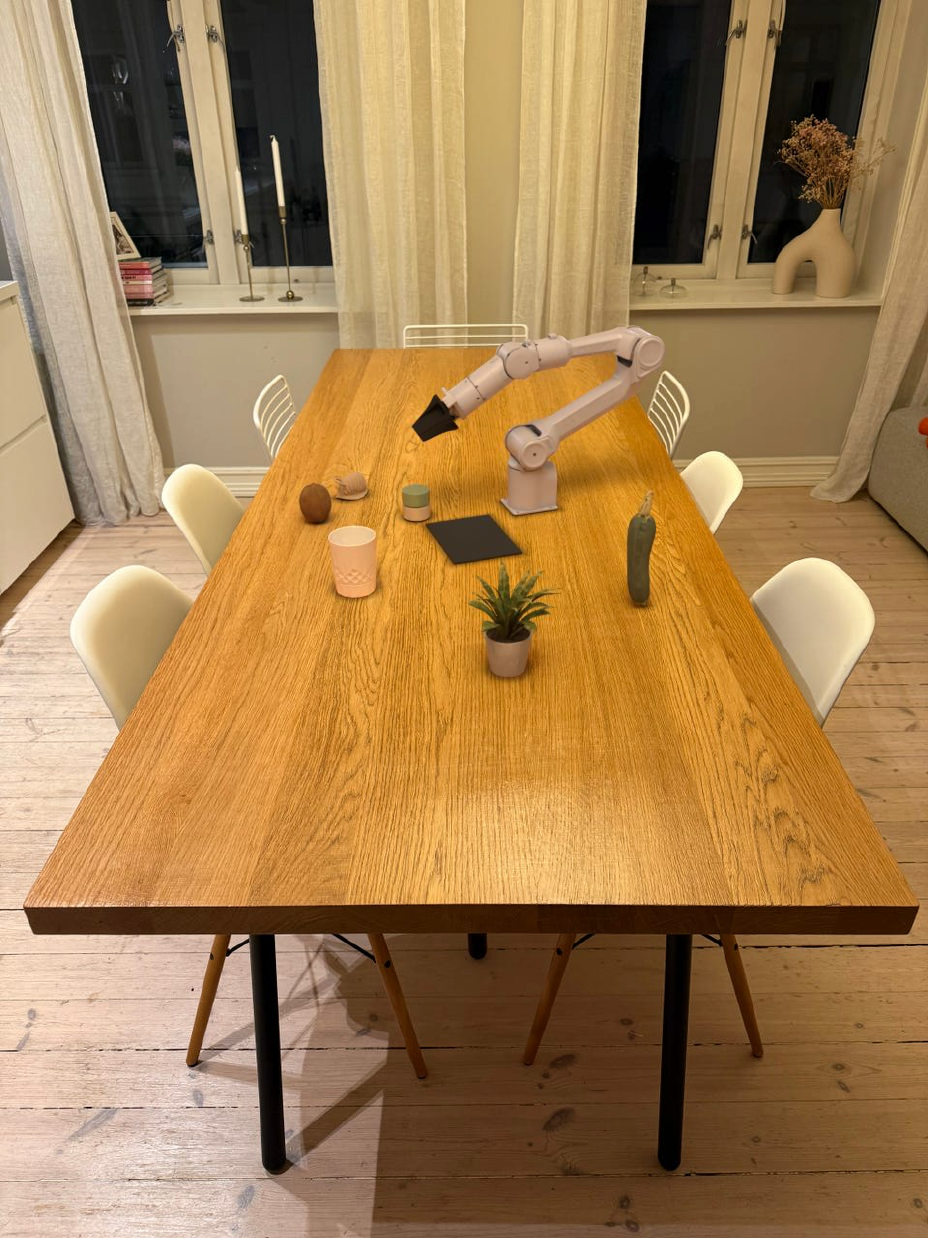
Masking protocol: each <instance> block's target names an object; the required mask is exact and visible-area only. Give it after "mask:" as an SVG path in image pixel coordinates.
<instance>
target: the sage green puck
mask: <svg viewBox="0 0 928 1238" xmlns="http://www.w3.org/2000/svg"><path fill="white" fill-rule="evenodd" d="M430 492H431V489H430V487H429V486H427V485H425V484H417V483H414V484H408V485H405V486H404V487H402V488H401V502H402V504H404V505H406V506H409V507H422V506H425V505H427V504H429V503H430V504H431V493H430Z"/></svg>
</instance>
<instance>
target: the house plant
mask: <svg viewBox="0 0 928 1238" xmlns="http://www.w3.org/2000/svg"><path fill="white" fill-rule="evenodd" d="M505 564H506V563H505V562H504V560H501V561H500V564H499V567H498V569H499V570H498V584H497V588H496V587H495V586H492V585H490V584H489V583H488V582H487V581H486V580H485V579H483V578H482V577H481V576H479V575H478V574H475V577H476V579H477V580H479V582H480V583H481V585H482V588H483V589H484V590H485V591H483V589H479V588H477V590H478V591H480V592H481V593H482V594H483V595H484V596H485V597H487V598H485V597H483V596H481V595H480V594H479V593H477V592H474V591H472V592H471V593H472V594H474V595H475V596H477V597H478V598H476V599H475V600H470V601H468V602H467V604H468V605H469V606H471V607H473V608H475V609H477V610H479V611H481V612H484V613H485V614H486V615H488V617H489V618H490V619H491V620H492V621H491V620H483V621H482V623H481V631H480V634H481V635H482V634H483V635H484V636H483V637H484V640H485V646H486V651H487V659H488V663H489V668H490V671H491V673H492V674H494V675H495V676H498V677H500V678H514V677H518V676H520V675H522V674H523V673H524V672H525V670H526V667H527V661H528V656H529V651H530V647H531V642H532V638H533V634H534V632H535V634H536V636H538V626H537V624H536V623H535V622H534V621H532V620H531V619H534V618H537V617H542V616H547V615H549V616H550V615H551V616H553V614H552V613H551V612H549V611H548V610H547V609H556V606H551V605H550V606H549V605H547V604H546V603H544V602H541V601H537V600H538V599H540V598H542V597H545V596H551V595H560V594H562V592H551V591H558V590H562V589H563V587H549V588H544V589H541V590H539V591H537V592H535V593H533V594H529V593H530V592H531V591H532V590H533V588H534V587H535V585H536V583H537V581H538V579H539V578H540V577H541V576H542V575H543V573H544V572H545V571H546V569H544V570H540V571H538V572H536V573H535V574H534V575H532V576H531V577H530V578H529V579H528V577H529V576H530V574H531V569H532V566H531V567H530V568H529V569H528V570H527V571H526V573H524V575H523V576H522V578H521V579H520V580H519V581H518V583H517V584H516V586H515V588H513V589H512V590H511V587H510V586H511V585H510V576H509V574H508V572H507V568H506V565H505ZM527 579H528V580H527ZM493 589H494V590H495V591H496V593H497V596H496V594H495V592H494V590H493ZM485 592H486V593H487V594H486V593H485ZM528 594H529V595H528ZM481 601H482V602H481ZM527 603H528V604H527ZM525 605H526V606H525ZM539 607H541V608H539ZM534 608H539V609H535V610H533V611H531V612H529V611H530V610H532V609H534ZM528 612H529V613H528ZM526 613H527V614H526ZM525 614H526V615H525Z"/></svg>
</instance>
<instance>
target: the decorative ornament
mask: <svg viewBox="0 0 928 1238" xmlns="http://www.w3.org/2000/svg"><path fill="white" fill-rule="evenodd" d="M333 481H334V482H335V483H336V484H337V485H338V487H337V494H336V496H335V497H334V498H335V499H342V500H347V501H348V500H349V501H350V500H351V501H355V500H356V501H358V500H360V499H363V498H364V497H365V496H366V495H367V494H368V492H369V490H368V488H367V487H368V485H367V479H366V477H365V476H364V474H363V473H361V472H359V471H354V472H353V471H352V472H350V473H348V474H346V475H344V477H342V478H340V477H337V476H335V477H333Z"/></svg>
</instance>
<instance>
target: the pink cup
mask: <svg viewBox="0 0 928 1238" xmlns="http://www.w3.org/2000/svg"><path fill="white" fill-rule="evenodd" d="M327 539H328V540H327V541H328V546H329V547H328V548H329V555H330V562H331V568H332V573H333V577H334V584H335V590H336V592H337V594H339V595H340V596H342V597H345V598H350V599H355V598H357V599H358V598H363V597H366V596H369V595H371V594H373V593H374V592H375V590H376V588H377V532H376V531H375V530H374V529H372V528H370V527H368V526H362V525H348V526H342V527H339V528H335V529H334V530H332V531H330V532H329V533H328V536H327Z"/></svg>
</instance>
